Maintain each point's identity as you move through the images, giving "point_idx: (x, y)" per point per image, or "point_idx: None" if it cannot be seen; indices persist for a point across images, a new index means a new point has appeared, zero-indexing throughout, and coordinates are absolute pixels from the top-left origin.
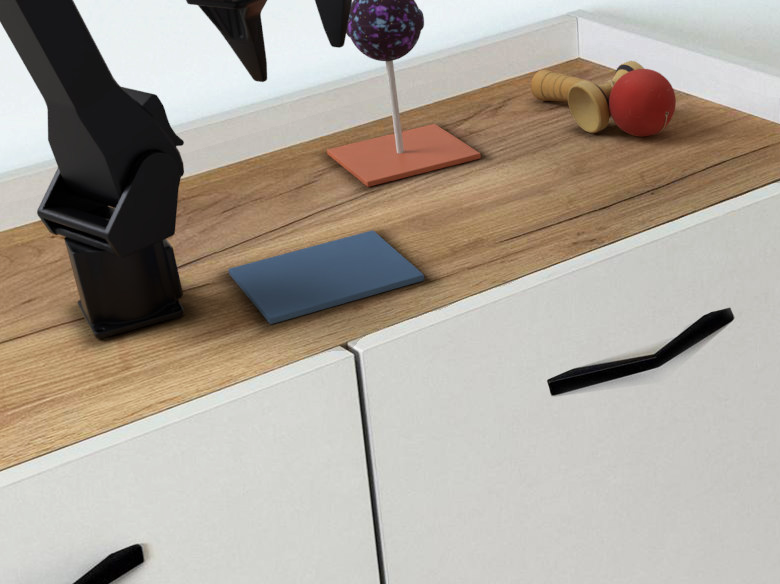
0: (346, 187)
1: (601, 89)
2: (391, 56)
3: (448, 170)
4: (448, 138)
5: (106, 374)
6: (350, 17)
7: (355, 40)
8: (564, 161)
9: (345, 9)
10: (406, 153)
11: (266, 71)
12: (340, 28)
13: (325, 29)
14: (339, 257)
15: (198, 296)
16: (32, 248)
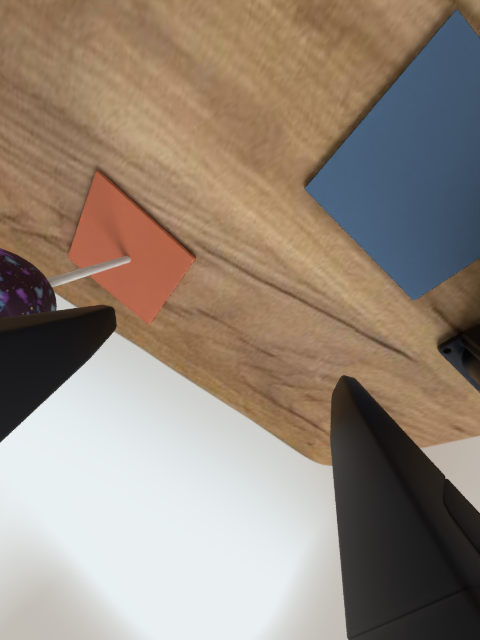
0: (201, 278)
1: None
2: (39, 272)
3: (136, 193)
4: (84, 227)
5: None
6: None
7: None
8: (60, 48)
9: (16, 324)
10: (127, 251)
11: (350, 386)
12: (78, 319)
13: (92, 352)
14: (387, 188)
15: (466, 305)
16: None
